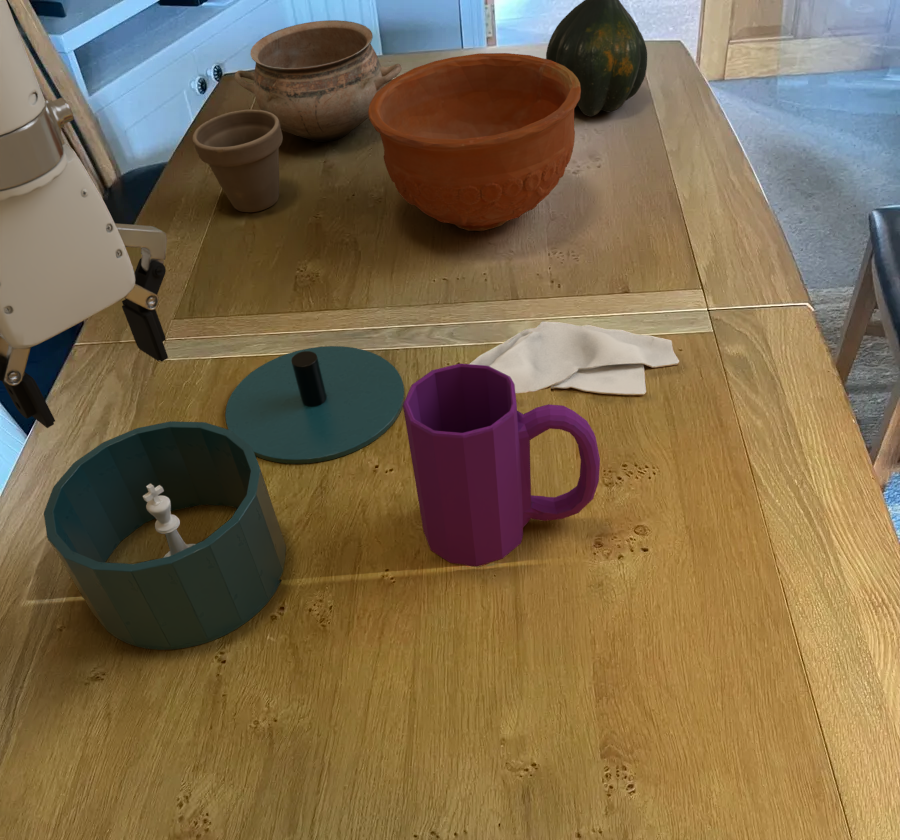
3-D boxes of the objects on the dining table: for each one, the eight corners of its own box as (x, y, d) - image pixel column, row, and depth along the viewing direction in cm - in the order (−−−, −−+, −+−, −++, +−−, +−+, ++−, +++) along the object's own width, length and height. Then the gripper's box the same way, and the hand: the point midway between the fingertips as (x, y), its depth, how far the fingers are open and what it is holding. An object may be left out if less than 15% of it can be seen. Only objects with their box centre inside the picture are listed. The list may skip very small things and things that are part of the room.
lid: (216, 476, 92) (197, 427, 88) (239, 363, 104) (224, 314, 100) (404, 460, 91) (395, 409, 86) (406, 347, 103) (398, 297, 99)
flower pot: (203, 224, 126) (179, 149, 119) (226, 183, 133) (205, 110, 126) (285, 222, 124) (267, 145, 117) (303, 180, 132) (287, 106, 124)
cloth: (669, 318, 102) (671, 299, 100) (686, 396, 93) (688, 377, 92) (433, 333, 105) (430, 315, 103) (427, 411, 96) (424, 393, 94)
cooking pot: (420, 102, 145) (410, 14, 136) (396, 159, 133) (383, 66, 124) (267, 107, 150) (247, 22, 140) (231, 163, 138) (207, 74, 128)
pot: (70, 658, 79) (18, 580, 71) (115, 510, 90) (74, 429, 83) (276, 643, 78) (245, 561, 70) (294, 495, 89) (269, 412, 82)
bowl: (607, 240, 114) (612, 112, 102) (408, 284, 112) (390, 158, 100) (545, 155, 130) (543, 36, 118) (369, 192, 128) (350, 75, 116)
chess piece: (225, 565, 84) (191, 482, 76) (181, 597, 81) (141, 516, 74) (193, 540, 86) (157, 457, 78) (149, 571, 84) (108, 489, 76)
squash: (541, 95, 130) (613, -10, 122) (515, 61, 140) (580, -38, 132) (613, 151, 137) (685, 55, 129) (583, 115, 147) (648, 24, 140)
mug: (423, 501, 87) (402, 367, 76) (591, 487, 86) (594, 349, 75) (424, 574, 81) (402, 440, 70) (604, 559, 80) (610, 422, 69)
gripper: (85, 84, 61) (166, 314, 74) (-172, 190, 54) (-32, 424, 67) (150, 111, 57) (223, 348, 70) (-117, 228, 50) (20, 469, 63)
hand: (99, 385), depth 69 cm, fingers open, 9 cm apart
